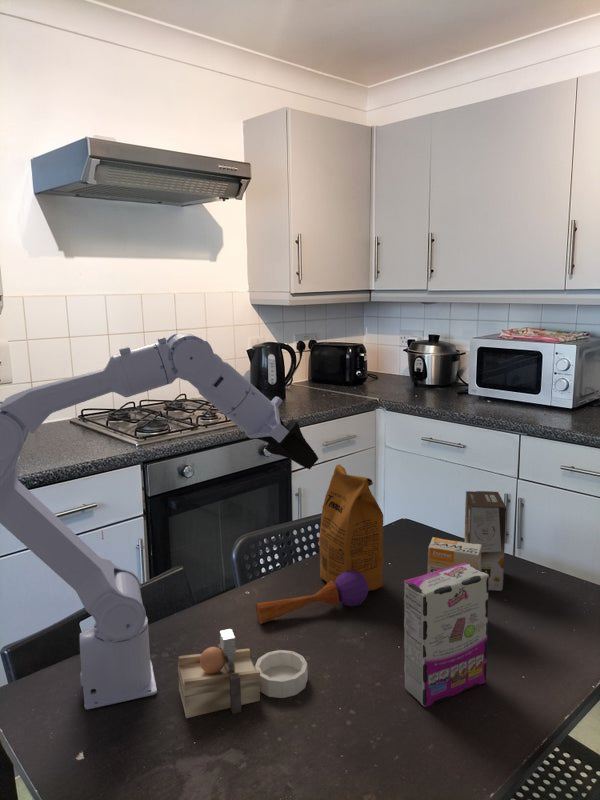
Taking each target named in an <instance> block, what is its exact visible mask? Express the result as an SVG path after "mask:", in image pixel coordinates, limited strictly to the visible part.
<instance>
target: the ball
mask: <svg viewBox="0 0 600 800" xmlns="http://www.w3.org/2000/svg"><path fill="white" fill-rule="evenodd" d="M200 654H201V657H200V665H201V668H202V669H203V670H204V671H205V672H206V673H209V674H215V673H218V672H219V671H220V670H221V669H222V668H223V666H224V664H225V656H224V655H223V652H222V650H221V649H219V648H218V646H217V647H216V646H209V647H208V648H207V647H206V648H205V649H204V650H203V651H202V653H200Z"/></svg>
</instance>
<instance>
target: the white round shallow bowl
mask: <svg viewBox="0 0 600 800" xmlns="http://www.w3.org/2000/svg"><path fill="white" fill-rule="evenodd" d="M254 668H255V670H259V671H260V682H259V684H260V693H262V694H264V695H265V696H267V697H269V698H277V699H284V698H289V697H293V696H296V695H298V694H299V693H301V692H302V691H303V690H304V689H306V686H307V682H308V662H307V660H306V659H305V658H304V656H303V655H301V654H299V653H297V652H296V651H294V650H293V651H292V650H283V649H277V650H274V651H269V652H266V653H265V654H263V655H262V656H260V657H258V658H257V661H256V663H255V665H254Z"/></svg>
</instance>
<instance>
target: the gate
mask: <svg viewBox="0 0 600 800" xmlns="http://www.w3.org/2000/svg"><path fill="white" fill-rule="evenodd" d="M219 644H220V647H221V650H222V652H223V655H224V656H225V667H226V670H227V672H228V674H230V673H235V664H234V656H233V654H236V650H237V648H236V636H235V635H234V632H233V629H232V628H228V629H222V630H220V631H219Z"/></svg>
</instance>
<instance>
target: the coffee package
mask: <svg viewBox="0 0 600 800" xmlns="http://www.w3.org/2000/svg"><path fill="white" fill-rule="evenodd" d="M373 483H374V482H373V479H371V478H369V477H365V476H359V475H351V474H348V473H347V471H346V469H345V467H344V466H342V465H341V464H340V463H339V464H336V466H335V468H334V472H333V474H332V476H331V479H330V481H329V486H328V488H327V491H326V493H325V497H324V501H323V505H322V509H321V520H320V528H319V536H318V546H319V568H320V569H319V572H320V573H319V574H320V575H319V577H320V579H321V580H323V581H324V582H326V584H328V583H329V582H330V581H333V582H334V583H335V581H336V579H337V577H338V576H339V575H340V574H341V573H343V572H346V571H356V572H359V573H360V574H362V575H363V576H364V577H365V579H366V581H367V583H368V592H370V591H376V590H378V589H379V588H381V587H383V584H384V583H383V572H384V567H383V566H384V556H385V555H384V550H383V548H384V547H383V546H384V514H383V512H382V509H381V508H380V505H379V504H378V502H377V500H376V498H375V497H374V496H373V493H372V491H371V490H370V487H371V486H372V485H373Z"/></svg>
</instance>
